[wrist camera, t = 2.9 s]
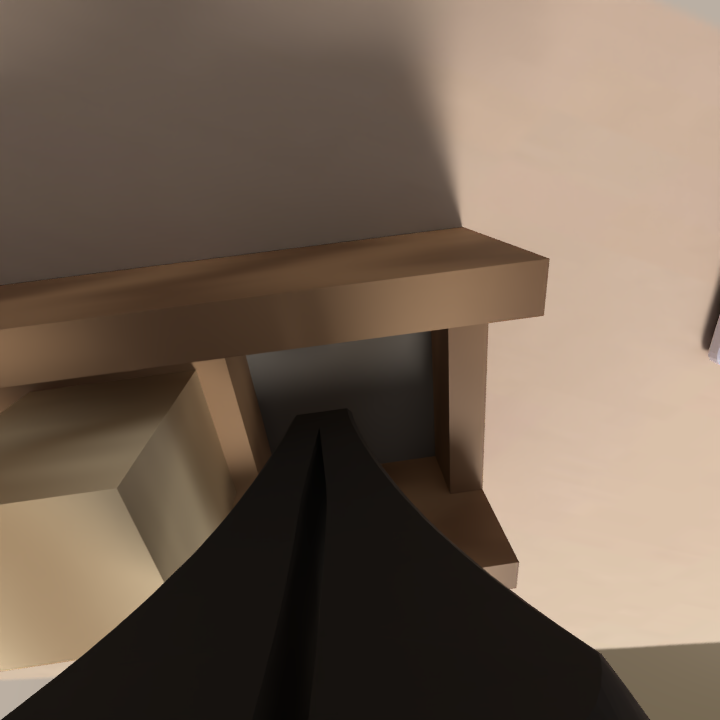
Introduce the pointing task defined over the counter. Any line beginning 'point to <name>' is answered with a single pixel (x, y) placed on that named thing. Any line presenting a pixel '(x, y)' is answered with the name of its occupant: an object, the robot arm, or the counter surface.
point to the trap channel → (306, 353)
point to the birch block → (100, 507)
